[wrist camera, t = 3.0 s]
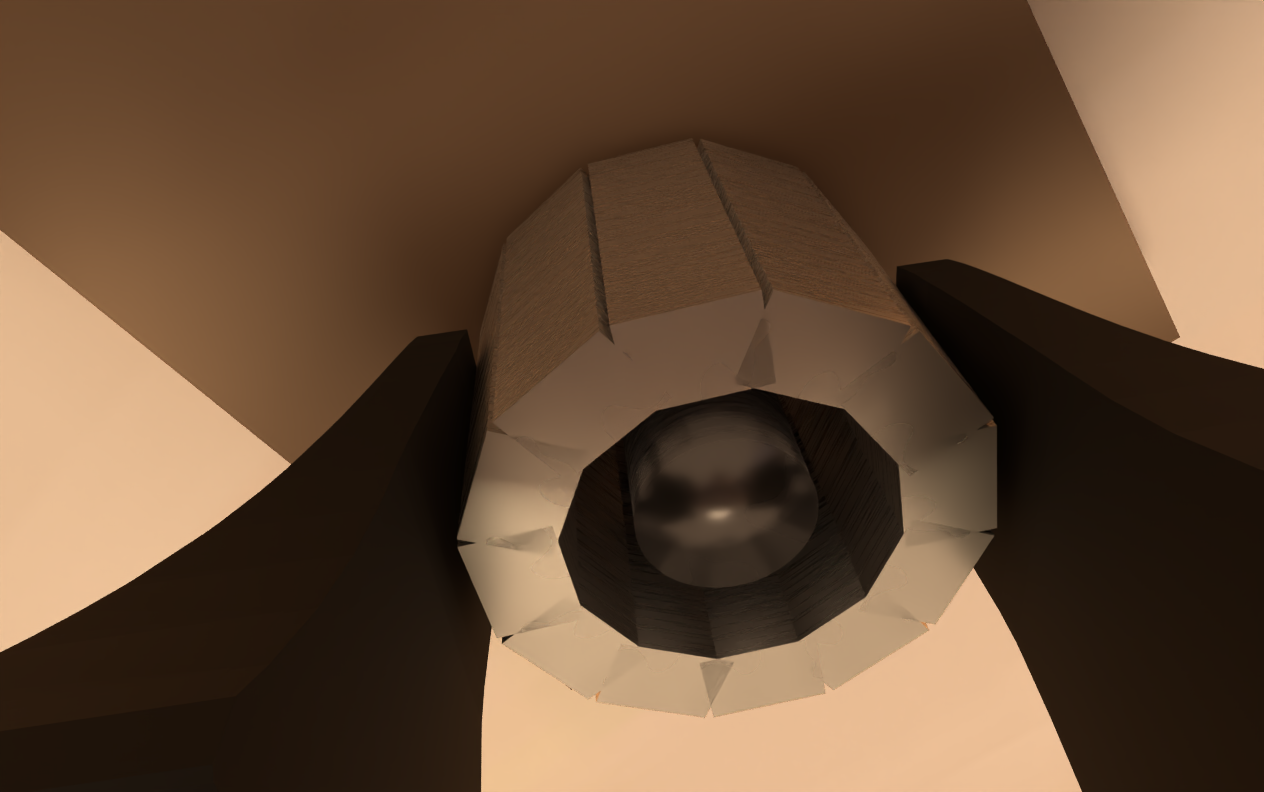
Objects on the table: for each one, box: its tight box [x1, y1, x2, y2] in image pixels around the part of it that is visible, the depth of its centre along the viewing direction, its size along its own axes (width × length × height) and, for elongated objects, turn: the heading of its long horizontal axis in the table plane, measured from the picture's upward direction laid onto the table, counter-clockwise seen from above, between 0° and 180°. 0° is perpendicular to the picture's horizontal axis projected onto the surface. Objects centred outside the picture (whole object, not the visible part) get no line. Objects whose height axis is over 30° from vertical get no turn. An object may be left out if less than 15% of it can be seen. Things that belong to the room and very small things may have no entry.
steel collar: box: [457, 138, 997, 718], centre depth 10 cm, size 5×5×4 cm
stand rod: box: [622, 388, 819, 588], centre depth 11 cm, size 2×2×4 cm
